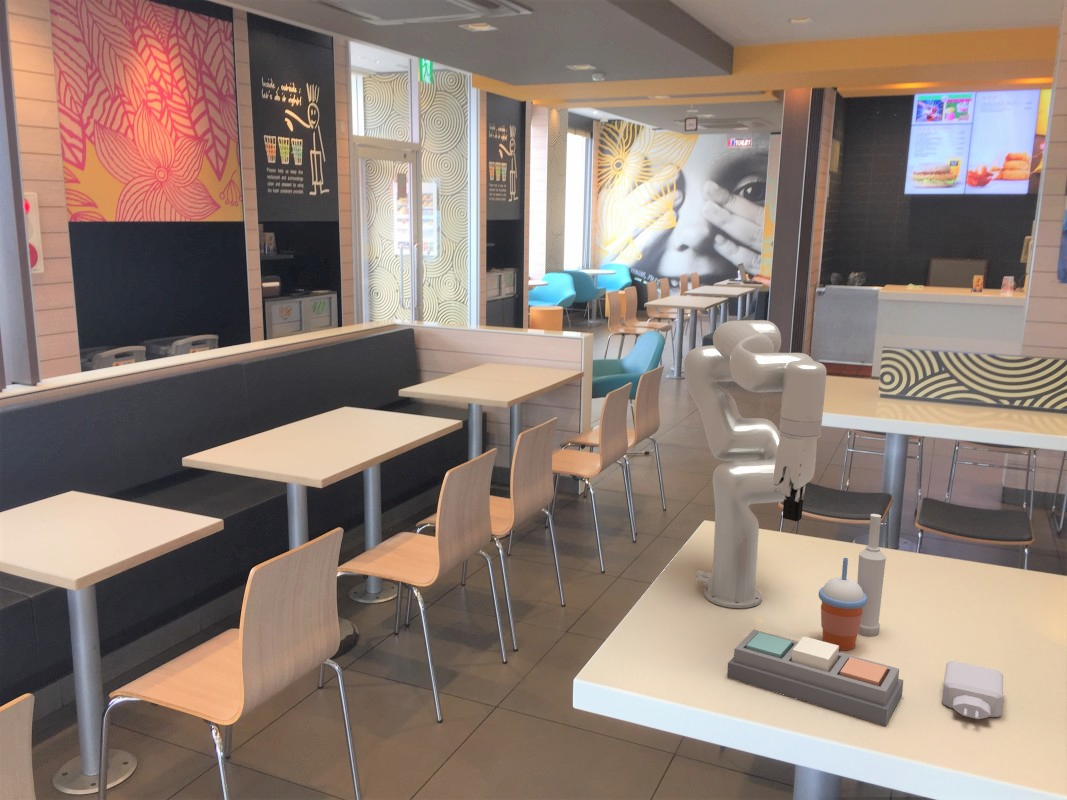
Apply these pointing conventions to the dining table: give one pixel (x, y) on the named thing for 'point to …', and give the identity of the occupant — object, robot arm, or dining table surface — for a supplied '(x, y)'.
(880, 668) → the terracotta key
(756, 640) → the teal key
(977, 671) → the charger
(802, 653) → the cream key
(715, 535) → the robot arm
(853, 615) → the cup with straw
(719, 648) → the dining table surface
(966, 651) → the dining table surface
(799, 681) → the keypad
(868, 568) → the bottle
